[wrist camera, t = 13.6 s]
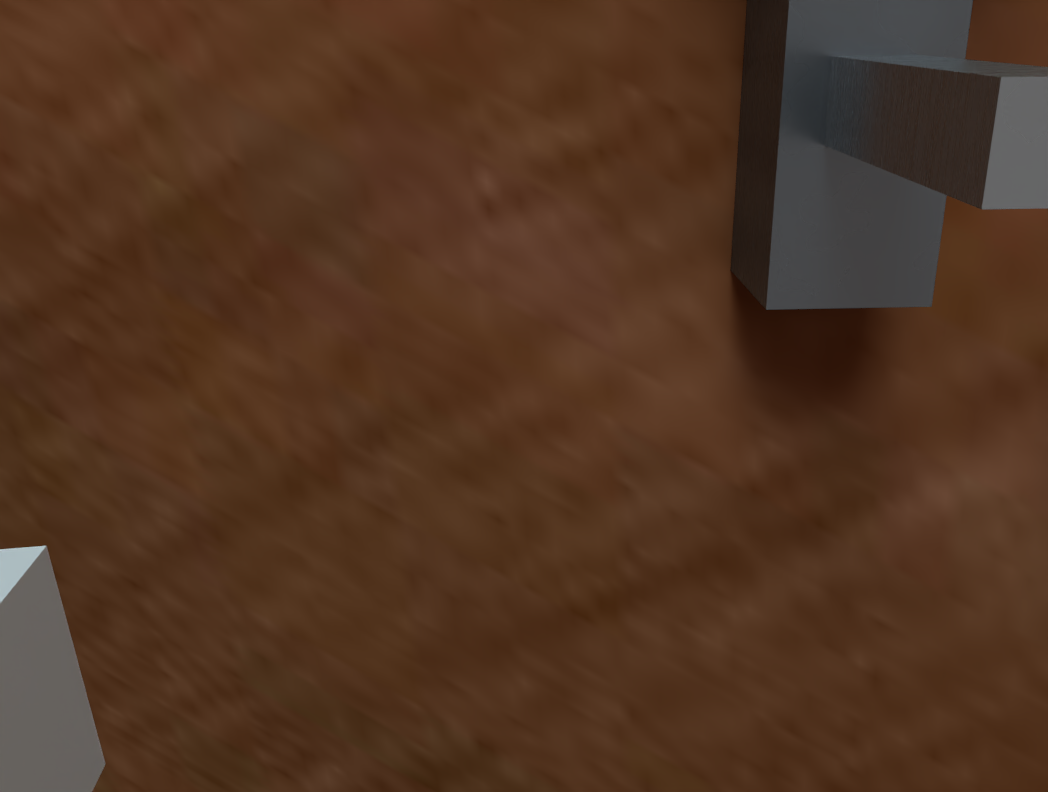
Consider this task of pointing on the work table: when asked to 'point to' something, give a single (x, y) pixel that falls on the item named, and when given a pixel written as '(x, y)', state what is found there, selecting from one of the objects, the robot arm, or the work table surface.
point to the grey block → (872, 147)
